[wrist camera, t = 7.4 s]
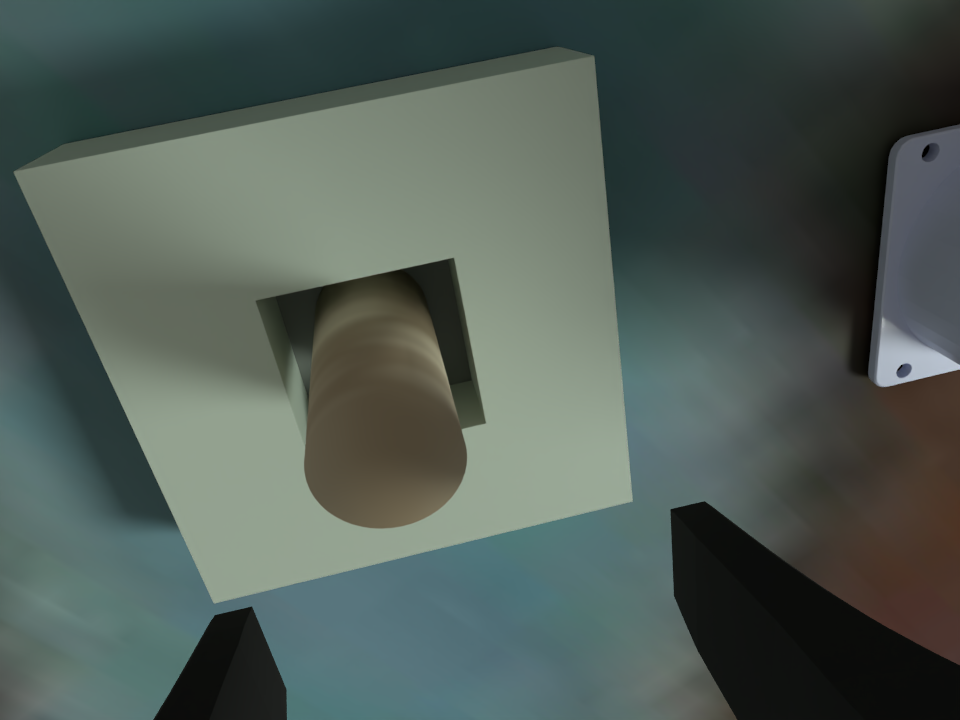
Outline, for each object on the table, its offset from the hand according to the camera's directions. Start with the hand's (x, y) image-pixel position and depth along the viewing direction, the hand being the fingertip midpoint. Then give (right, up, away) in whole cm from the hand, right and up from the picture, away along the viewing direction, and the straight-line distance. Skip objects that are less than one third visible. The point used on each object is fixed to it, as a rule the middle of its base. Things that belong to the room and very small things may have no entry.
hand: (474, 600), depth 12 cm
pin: (-3, +5, +7) cm, 9 cm away
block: (-3, +5, +8) cm, 10 cm away
